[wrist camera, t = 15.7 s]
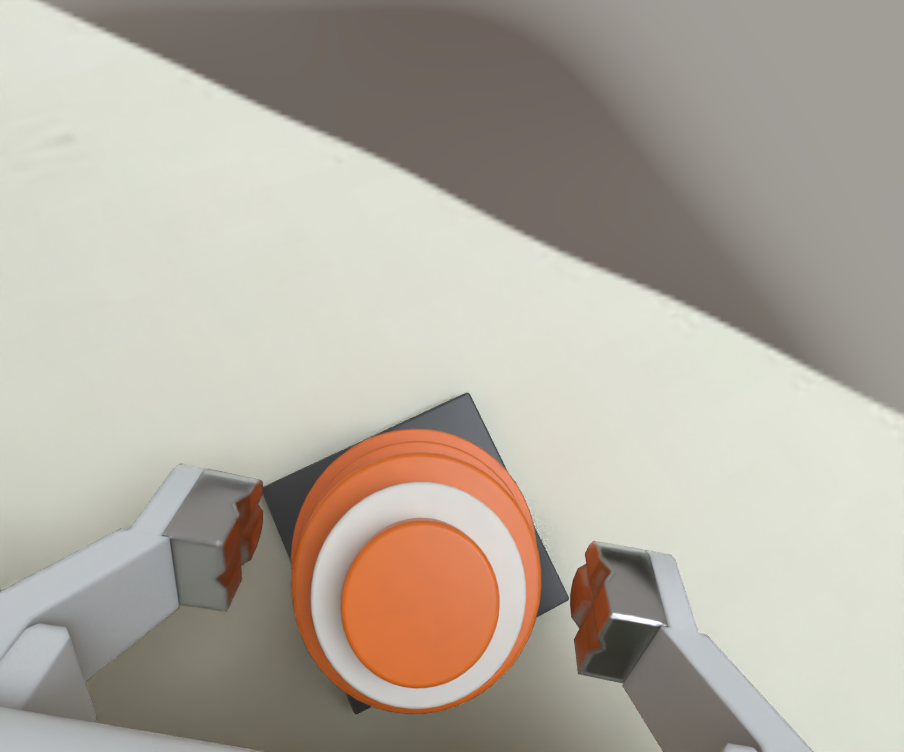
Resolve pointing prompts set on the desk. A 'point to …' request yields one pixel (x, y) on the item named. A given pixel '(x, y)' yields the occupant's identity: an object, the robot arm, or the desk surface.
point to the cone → (414, 563)
